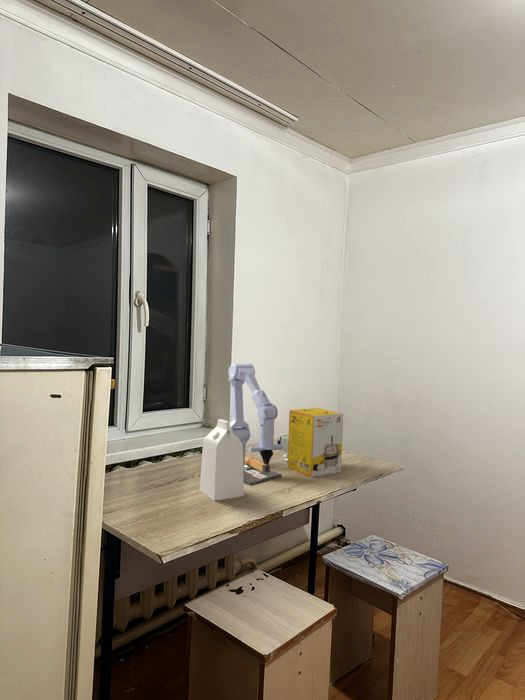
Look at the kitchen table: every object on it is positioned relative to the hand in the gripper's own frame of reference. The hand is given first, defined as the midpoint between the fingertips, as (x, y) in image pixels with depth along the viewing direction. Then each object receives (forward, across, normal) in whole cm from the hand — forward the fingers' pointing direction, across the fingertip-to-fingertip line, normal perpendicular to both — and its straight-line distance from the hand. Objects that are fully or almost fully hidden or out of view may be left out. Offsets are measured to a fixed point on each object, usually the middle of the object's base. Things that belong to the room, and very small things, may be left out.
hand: (265, 468), depth 191 cm
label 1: (+3, -4, +2) cm, 6 cm away
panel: (+3, -6, +4) cm, 7 cm away
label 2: (+3, -4, -3) cm, 6 cm away
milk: (+3, -24, -14) cm, 28 cm away
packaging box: (+3, +24, +1) cm, 24 cm away
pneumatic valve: (+3, +21, +17) cm, 27 cm away
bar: (0, -2, +4) cm, 4 cm away
